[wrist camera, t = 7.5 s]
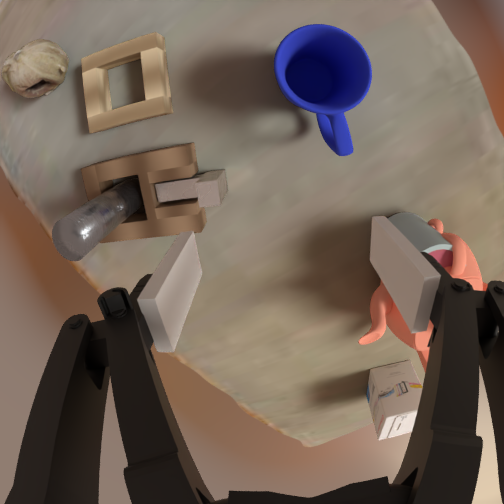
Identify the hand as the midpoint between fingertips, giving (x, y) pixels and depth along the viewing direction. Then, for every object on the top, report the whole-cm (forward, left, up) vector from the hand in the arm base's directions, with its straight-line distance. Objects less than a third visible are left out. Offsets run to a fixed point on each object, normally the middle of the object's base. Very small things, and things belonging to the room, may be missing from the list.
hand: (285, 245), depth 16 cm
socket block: (0, -16, -20) cm, 25 cm away
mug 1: (-9, +5, -20) cm, 22 cm away
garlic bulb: (-20, -28, -20) cm, 40 cm away
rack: (-14, -16, -20) cm, 29 cm away
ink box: (+39, +19, -20) cm, 48 cm away
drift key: (0, -10, -20) cm, 22 cm away
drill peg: (0, -18, -20) cm, 27 cm away
